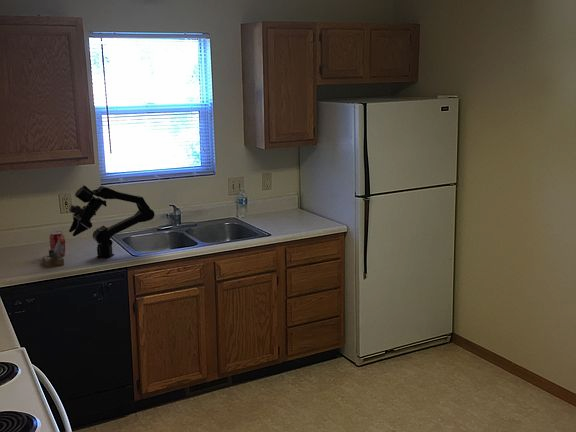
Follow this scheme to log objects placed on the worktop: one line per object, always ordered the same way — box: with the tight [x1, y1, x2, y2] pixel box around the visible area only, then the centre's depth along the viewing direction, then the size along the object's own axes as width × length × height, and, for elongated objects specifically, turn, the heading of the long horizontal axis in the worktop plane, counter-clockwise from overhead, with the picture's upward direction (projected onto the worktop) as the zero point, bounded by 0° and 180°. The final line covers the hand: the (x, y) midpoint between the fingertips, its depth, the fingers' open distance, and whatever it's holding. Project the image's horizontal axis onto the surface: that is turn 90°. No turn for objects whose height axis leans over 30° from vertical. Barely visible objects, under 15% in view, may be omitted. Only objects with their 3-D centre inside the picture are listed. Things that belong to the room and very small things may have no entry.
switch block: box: [42, 249, 65, 268], centre depth 309 cm, size 8×10×6 cm
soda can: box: [49, 230, 67, 257], centre depth 322 cm, size 7×7×12 cm
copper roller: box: [52, 237, 66, 256], centre depth 309 cm, size 2×6×10 cm, turn 30°
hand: (71, 233), depth 311 cm, fingers open, 9 cm apart
